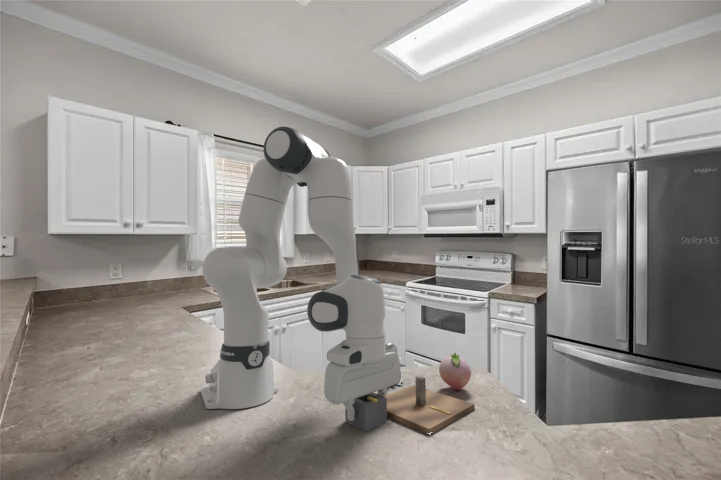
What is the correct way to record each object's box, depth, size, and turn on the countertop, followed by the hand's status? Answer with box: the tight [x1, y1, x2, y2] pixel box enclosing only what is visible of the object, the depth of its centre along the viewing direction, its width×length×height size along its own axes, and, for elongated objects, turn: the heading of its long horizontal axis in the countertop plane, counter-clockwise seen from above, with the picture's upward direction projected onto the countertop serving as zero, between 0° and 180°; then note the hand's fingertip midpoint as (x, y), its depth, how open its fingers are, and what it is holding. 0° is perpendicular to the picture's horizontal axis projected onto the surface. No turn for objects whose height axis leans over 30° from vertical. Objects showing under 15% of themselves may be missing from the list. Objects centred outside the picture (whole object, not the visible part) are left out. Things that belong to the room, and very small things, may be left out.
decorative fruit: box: [438, 352, 472, 391], centre depth 89 cm, size 9×8×10 cm
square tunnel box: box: [344, 392, 388, 433], centre depth 70 cm, size 6×6×5 cm
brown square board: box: [385, 375, 475, 434], centre depth 76 cm, size 18×18×7 cm
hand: (365, 413), depth 70 cm, fingers closed on square tunnel box, 6 cm apart
